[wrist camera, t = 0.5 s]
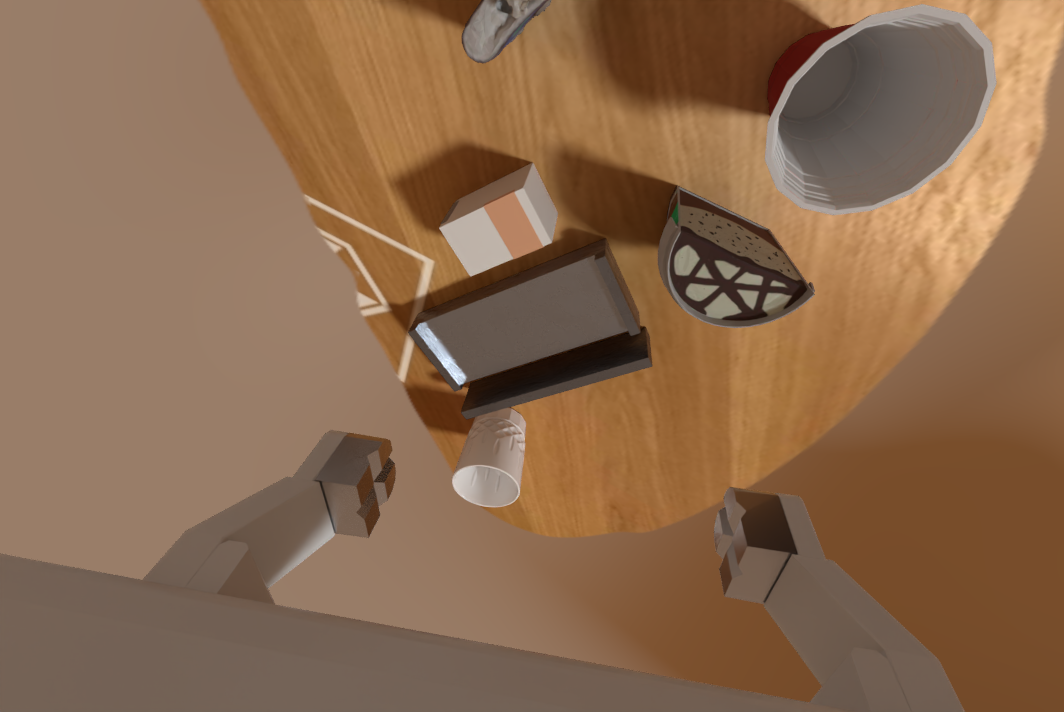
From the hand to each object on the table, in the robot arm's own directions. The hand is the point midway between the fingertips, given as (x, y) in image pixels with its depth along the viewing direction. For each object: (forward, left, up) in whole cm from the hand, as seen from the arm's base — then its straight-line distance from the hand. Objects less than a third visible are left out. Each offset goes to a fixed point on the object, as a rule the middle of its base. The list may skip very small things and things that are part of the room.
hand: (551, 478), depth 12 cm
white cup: (+29, -25, -36) cm, 52 cm away
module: (+4, -10, -35) cm, 37 cm away
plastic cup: (+5, +15, -36) cm, 39 cm away
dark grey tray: (+16, -14, -35) cm, 41 cm away
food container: (+14, +5, -36) cm, 38 cm away
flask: (-9, 0, -36) cm, 37 cm away
